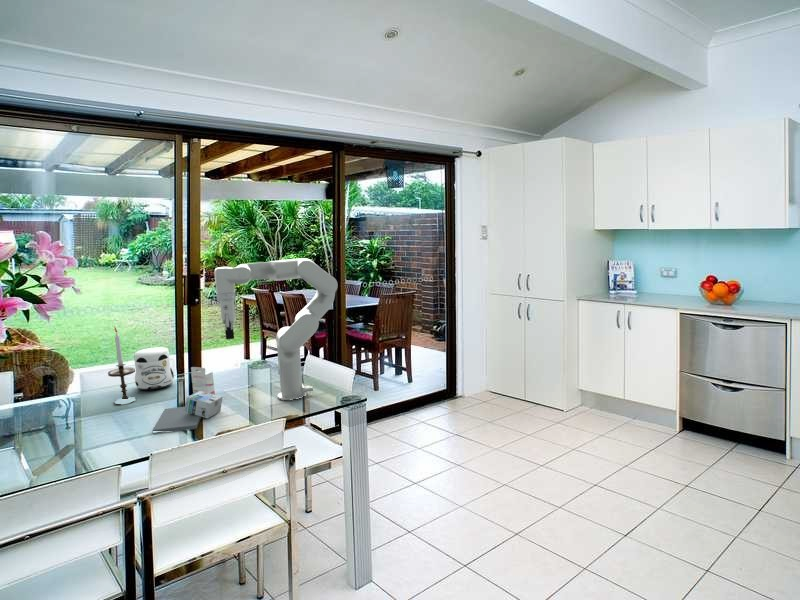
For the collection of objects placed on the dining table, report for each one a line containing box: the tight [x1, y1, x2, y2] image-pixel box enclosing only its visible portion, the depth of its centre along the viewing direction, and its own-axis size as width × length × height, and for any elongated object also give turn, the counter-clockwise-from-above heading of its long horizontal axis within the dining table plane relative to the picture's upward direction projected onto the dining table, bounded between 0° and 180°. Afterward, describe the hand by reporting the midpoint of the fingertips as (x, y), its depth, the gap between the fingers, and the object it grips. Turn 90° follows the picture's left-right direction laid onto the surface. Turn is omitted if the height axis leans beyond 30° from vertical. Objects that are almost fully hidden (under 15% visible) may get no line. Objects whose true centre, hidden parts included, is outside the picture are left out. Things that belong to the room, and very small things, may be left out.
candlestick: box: [107, 325, 136, 399], centre depth 252 cm, size 11×11×35 cm
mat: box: [152, 406, 202, 432], centre depth 229 cm, size 16×24×2 cm, turn 11°
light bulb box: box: [184, 391, 224, 419], centre depth 233 cm, size 11×7×11 cm
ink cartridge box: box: [190, 366, 216, 395], centre depth 255 cm, size 9×5×15 cm, turn 68°
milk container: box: [133, 347, 175, 391], centre depth 274 cm, size 17×17×18 cm
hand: (230, 338), depth 241 cm, fingers closed
